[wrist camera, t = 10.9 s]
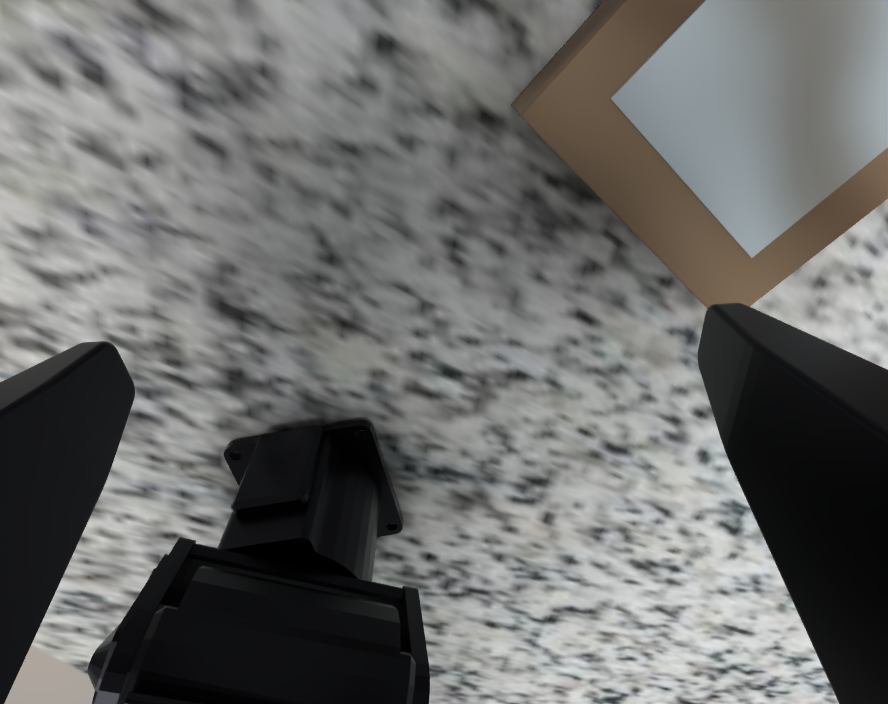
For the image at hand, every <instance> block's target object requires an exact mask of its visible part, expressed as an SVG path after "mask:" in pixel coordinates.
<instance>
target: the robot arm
mask: <svg viewBox="0 0 888 704" xmlns="http://www.w3.org/2000/svg"><path fill="white" fill-rule="evenodd" d="M698 365H699V369H700V372H701V375H702V379H703V382H704V385H705V388H706V392H707V395H708V398H709V401H710V405H711V408H712V411H713V414H714V418H715V421H716V424H717V427H718V431H719V434H720V437H721V440H722V443H723V446H724V449H725V452H726V454H727V457H728V459H729V461H730V464H731V466H732V468H733V470H734V473H735V475H736V477H737V479H738V482H739V484H740V486H741V488H742V490H743V493H744V495H745V497H746V499H747V501H748V504H749V506H750V508H751V510H752V512H753V515H754V517H755V519H756V521H757V523H758V526H759V528H760V530H761V532H762V534H763V537H764V539H765V541H766V543H767V545H768V548H769V550H770V552H771V554H772V556H773V559H774V561H775V563H776V565H777V567H778V570H779V572H780V574H781V576H782V578H783V581H784V583H785V585H786V587H787V589H788V592H789V594H790V596H791V598H792V601H793V603H794V605H795V607H796V609H797V612H798V614H799V616H800V618H801V620H802V623H803V625H804V627H805V629H806V631H807V634H808V636H809V638H810V640H811V642H812V645H813V647H814V649H815V651H816V653H817V656H818V658H819V660H820V662H821V664H822V667H823V669H824V671H825V673H826V675H827V678H828V680H829V682H830V684H831V686H832V689H833V691H834V693H835V695H836V697H837V700H838V702H839V704H888V370H887V369H885V368H883V367H880V366H878V365H876V364H874V363H872V362H869V361H867V360H865V359H863V358H861V357H858V356H856V355H854V354H852V353H850V352H847V351H845V350H843V349H841V348H839V347H836V346H834V345H832V344H830V343H828V342H825V341H823V340H821V339H819V338H817V337H815V336H812V335H810V334H808V333H806V332H804V331H801V330H799V329H797V328H795V327H793V326H790V325H788V324H786V323H784V322H782V321H779V320H777V319H775V318H773V317H771V316H768V315H766V314H764V313H762V312H760V311H757V310H755V309H753V308H751V307H749V306H746V305H744V304H742V303H721V304H713V305H711V306H710V307H709V308H708V310H707V312H706V315H705V319H704V324H703V329H702V334H701V339H700V344H699V349H698ZM134 397H135V387H134V383H133V381H132V379H131V377H130V375H129V373H128V371H127V368H126V366H125V364H124V362H123V360H122V358H121V356H120V354H119V352H118V350H117V349H116V347H115V346H114V345H113V344H111V343H109V342H106V341H101V342H85V343H81V344H78V345H76V346H74V347H72V348H70V349H68V350H66V351H64V352H62V353H60V354H58V355H56V356H54V357H52V358H49V359H47V360H45V361H43V362H41V363H39V364H37V365H35V366H33V367H31V368H29V369H27V370H25V371H23V372H21V373H19V374H17V375H15V376H13V377H11V378H9V379H6V380H4V381H2V382H0V704H4V703H5V700H6V698H7V696H8V694H9V691H10V689H11V687H12V685H13V683H14V681H15V679H16V676H17V674H18V672H19V670H20V667H21V666H22V663H23V661H24V659H25V657H26V654H27V653H28V650H29V648H30V646H31V644H32V642H33V640H34V637H35V635H36V633H37V631H38V629H39V627H40V624H41V622H42V620H43V618H44V616H45V614H46V611H47V609H48V607H49V605H50V603H51V601H52V598H53V596H54V594H55V592H56V590H57V588H58V585H59V583H60V581H61V579H62V577H63V575H64V572H65V570H66V568H67V566H68V564H69V562H70V559H71V557H72V555H73V553H74V551H75V548H76V546H77V544H78V542H79V540H80V538H81V535H82V533H83V531H84V529H85V527H86V525H87V522H88V520H89V518H90V516H91V514H92V512H93V509H94V507H95V505H96V503H97V501H98V499H99V496H100V494H101V492H102V490H103V487H104V485H105V483H106V480H107V477H108V475H109V472H110V469H111V467H112V464H113V461H114V458H115V455H116V452H117V449H118V446H119V443H120V440H121V437H122V434H123V431H124V428H125V425H126V422H127V419H128V416H129V413H130V410H131V407H132V404H133V401H134ZM358 430H363V431H365V432H366V433H364V434H360V433H358V432H357V431H358ZM233 451H237V452H239V453H240V454H236V453H234V452H233ZM224 457H225V459H226V461H227V463H228V465H229V467H230V469H231V471H232V473H233V475H234V477H235V479H236V481H237V483H238V485H239V488H238V490H237V493H236V495H235V497H234V500H233V502H232V505H231V508H232V510H233V511H232V514H231V516H230V519H229V521H228V524H227V526H226V529H225V531H224V533H223V536H222V538H221V541H220V543H219V546H218V548H214V547H209V546H205V545H200V544H195V543H196V541H195V540H190V539H186V538H181V537H180V538H179V540H178V541H177V543H176V544H175V546H174V547H173V549H172V551H171V552H170V554H169V555H167V554H165V555H164V557H163V558H162V560H161V561H160V563H159V564H158V566H157V567H156V568H155V569H154V570H153V572H152V574H151V576H150V578H149V580H148V581H147V583H146V585H145V586H144V588H143V589H142V591H141V592H140V594H139V596H138V597H137V599H136V600H135V602H134V603H133V605H132V606H131V608H130V610H129V611H128V613H127V614H126V616H125V617H124V619H123V620H122V622H121V623H120V624H119V625H118V627H117V628H116V629H115V630H114V631H113V632H112V633H111V634H110V635H109V636H108V637H107V638H106V640H105V641H104V642H103V643H102V644H101V645H100V646H99V647H98V648H97V649H96V651H95V653H94V654H93V656H92V658H91V661H90V663H89V666H88V671H87V673H88V675H89V677H90V679H91V682H92V684H93V686H94V689H95V693H94V697H93V702H92V704H429V694H430V673H429V663H428V656H427V649H426V642H425V635H424V628H423V621H422V614H421V607H420V600H419V593H418V589H416V588H411V587H407V586H403V588H399V587H394V586H389V585H385V584H380V583H376V582H372V575H373V566H374V557H375V548H376V539H377V537H380V536H386V535H393V534H397V533H399V532H400V531H401V530H402V528H403V518H402V515H401V512H400V509H399V506H398V503H397V500H396V496H395V493H394V490H393V487H392V484H391V481H390V478H389V475H388V472H387V469H386V466H385V463H384V460H383V456H382V453H381V450H380V447H379V444H378V441H377V438H376V435H375V432H374V429H373V426H372V425H371V423H369V422H368V421H366V420H354V421H348V422H342V423H336V424H330V425H325V426H319V427H318V426H312V427H306V428H301V429H295V430H289V431H283V432H277V433H271V434H265V435H262V436H260V437H254V438H248V439H242V440H237V441H233V442H230V443H229V444H228V445H227V447H226V449H225V452H224ZM390 523H395V524H390Z"/></svg>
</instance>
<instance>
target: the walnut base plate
mask: <svg viewBox="0 0 888 704" xmlns="http://www.w3.org/2000/svg"><path fill="white" fill-rule="evenodd" d="M511 105H512V106H513V107H514V109H515V110H516V111H517V112H518V113H519V115H520V116H521V117H522V118H523V119H524V120H525V121H526V122H527V123H528V124H529V125H530V126H531V127H532V128H533V129H534V130H535V131H536V132H537V133H538V135H539V136H540V137H541V138H542V139H543V140H544V141H545V142H546V143H547V144H548V145H549V146H550V147H551V148H552V149H553V150H554V151H555V152H556V153H557V154H558V155H559V156H560V157H561V158H562V159H563V160H564V161H565V162H566V163H567V164H568V165H569V166H570V167H571V168H572V170H573V171H574V172H575V173H576V174H577V175H578V176H579V177H580V178H581V179H582V180H583V181H584V182H585V183H586V184H587V185H588V186H589V187H590V188H591V189H592V190H593V191H594V192H595V193H596V194H597V195H598V196H599V197H600V198H601V199H602V200H603V201H604V202H605V204H606V205H607V206H608V207H609V208H610V209H611V210H612V211H613V212H614V213H615V214H616V215H617V216H618V217H619V218H620V219H621V220H622V221H623V222H624V223H625V224H626V225H627V226H628V227H629V228H630V229H631V230H632V231H633V232H634V233H635V234H636V235H637V236H638V237H639V239H640V240H641V241H642V242H643V243H644V244H645V245H646V246H647V247H648V248H649V249H650V250H651V251H652V252H653V253H654V254H655V255H656V256H657V257H658V258H659V259H660V260H661V261H662V262H663V263H664V264H665V265H666V266H667V267H668V268H669V269H670V270H671V271H672V272H673V274H674V275H675V276H676V277H677V278H678V279H679V280H680V281H681V282H682V283H683V284H684V285H685V286H686V287H687V288H688V289H689V290H690V291H691V292H692V293H693V294H694V295H695V296H696V297H697V298H698V299H699V300H700V301H701V302H702V303H703V304H704V305H705V306H706V307H707V309H708V308H709V307H710V306H711V305H713V304H721V303H742V304H744V305H746V306H751V305H752V304H753V303H755V302H756V301H757V300H758V299H760V298H761V297H762V296H763V295H765V294H766V293H767V292H769V291H770V290H771V289H772V288H774V287H775V286H776V285H778V284H779V283H780V282H781V281H783V280H784V279H785V278H787V277H788V276H789V275H790V274H792V273H793V272H794V271H796V270H797V269H798V268H799V267H801V266H802V265H803V264H804V263H806V262H807V261H808V260H810V259H811V258H812V257H813V256H815V255H816V254H817V253H819V252H820V251H821V250H822V249H824V248H825V247H826V246H828V245H829V244H830V243H831V242H833V241H834V240H835V239H836V238H838V237H839V236H840V235H842V234H843V233H844V232H845V231H847V230H848V229H849V228H851V227H852V226H853V225H854V224H856V223H857V222H858V221H860V220H861V219H862V218H863V217H865V216H866V215H867V214H869V213H870V212H871V211H872V210H874V209H875V208H876V207H877V206H879V205H880V204H881V203H883V202H884V201H885V200H886V199H888V0H604V1H603V2H602V3H601V5H600V6H599V7H598V8H597V9H596V10H595V11H594V12H593V13H592V15H591V16H590V17H589V18H588V19H587V20H586V21H585V22H584V24H583V25H582V26H581V27H580V28H579V29H578V30H577V31H576V32H575V34H574V35H573V36H572V37H571V38H570V39H569V40H568V41H567V43H566V44H565V45H564V46H563V47H562V48H561V49H560V50H559V51H558V53H557V54H556V55H555V56H554V57H553V58H552V59H551V60H550V62H549V63H548V64H547V65H546V66H545V67H544V68H543V69H542V70H541V72H540V73H539V74H538V75H537V76H536V77H535V78H534V79H533V81H532V82H531V83H530V84H529V85H528V86H527V87H526V88H525V89H524V91H523V92H522V93H521V94H520V95H519V96H518V97H517V98H516V100H515V101H514V102H513V103H512V104H511Z"/></svg>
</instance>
